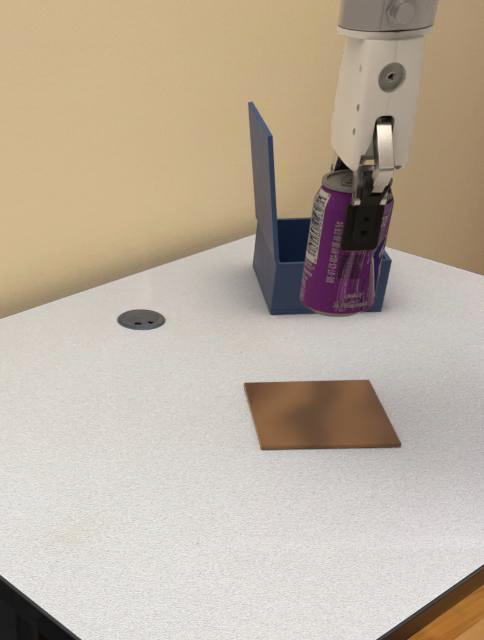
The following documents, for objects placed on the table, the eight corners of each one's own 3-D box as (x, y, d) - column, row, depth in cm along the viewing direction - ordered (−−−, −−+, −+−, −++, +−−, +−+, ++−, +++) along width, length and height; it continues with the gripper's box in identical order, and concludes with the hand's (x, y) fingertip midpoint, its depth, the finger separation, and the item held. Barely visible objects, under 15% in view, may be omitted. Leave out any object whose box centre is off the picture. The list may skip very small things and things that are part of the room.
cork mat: (368, 382, 101) (369, 379, 101) (400, 446, 91) (401, 443, 90) (243, 385, 102) (243, 382, 102) (260, 449, 92) (261, 446, 91)
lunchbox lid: (252, 101, 116) (247, 102, 116) (272, 135, 103) (267, 136, 103) (259, 216, 125) (255, 217, 125) (279, 260, 112) (274, 261, 112)
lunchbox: (352, 262, 128) (360, 215, 124) (381, 311, 115) (392, 260, 111) (252, 266, 129) (257, 219, 125) (270, 314, 116) (276, 264, 112)
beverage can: (359, 327, 85) (385, 194, 77) (287, 313, 88) (305, 185, 80) (381, 300, 89) (408, 172, 81) (312, 288, 92) (332, 164, 85)
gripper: (468, 26, 66) (414, 267, 77) (406, -7, 79) (367, 203, 90) (364, 31, 66) (326, 270, 78) (319, -2, 79) (292, 206, 91)
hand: (348, 232), depth 84 cm, fingers closed on beverage can, 7 cm apart
